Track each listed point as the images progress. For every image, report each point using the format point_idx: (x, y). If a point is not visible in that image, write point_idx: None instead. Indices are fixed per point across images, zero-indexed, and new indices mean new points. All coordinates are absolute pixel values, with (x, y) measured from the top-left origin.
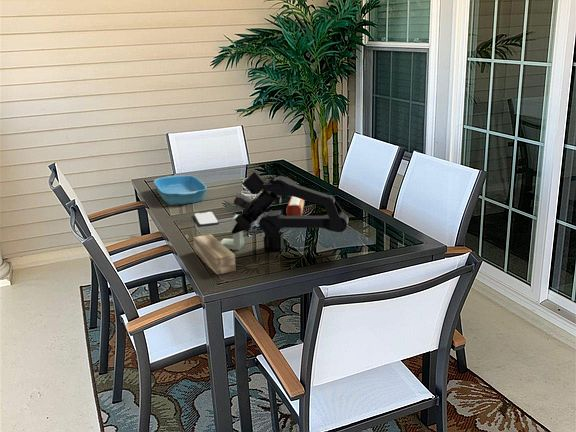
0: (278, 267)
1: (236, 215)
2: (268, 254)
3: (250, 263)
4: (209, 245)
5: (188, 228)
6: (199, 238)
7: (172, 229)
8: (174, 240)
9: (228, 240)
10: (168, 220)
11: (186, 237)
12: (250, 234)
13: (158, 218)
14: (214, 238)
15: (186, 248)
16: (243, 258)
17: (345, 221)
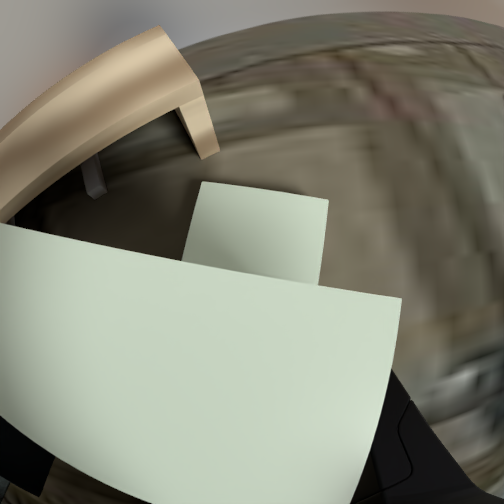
0: None
1: (267, 341)
2: (111, 497)
3: None
4: (1, 149)
5: (475, 66)
6: (122, 54)
7: (443, 28)
8: (338, 18)
9: (278, 244)
10: (498, 38)
11: (384, 46)
12: (478, 376)
13: (495, 26)
14: (87, 134)
15: (237, 53)
16: None
17: None
